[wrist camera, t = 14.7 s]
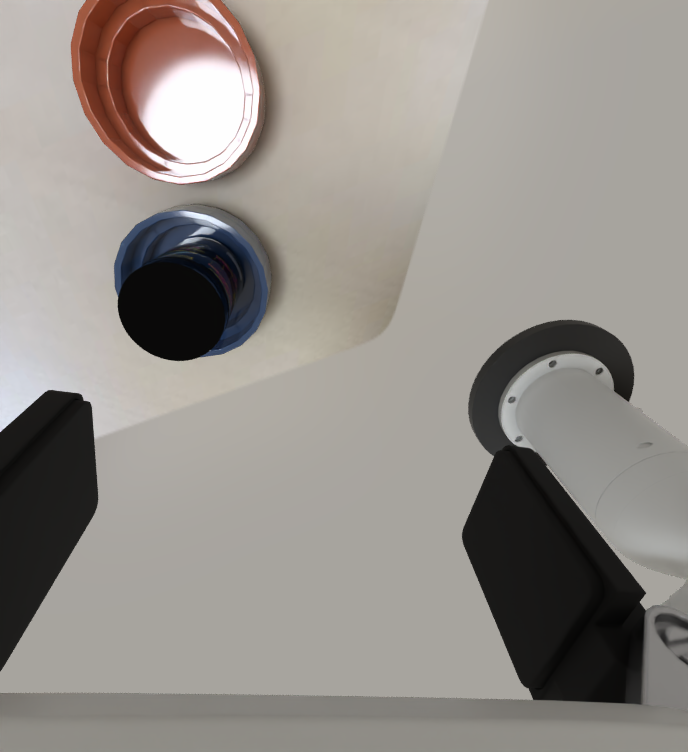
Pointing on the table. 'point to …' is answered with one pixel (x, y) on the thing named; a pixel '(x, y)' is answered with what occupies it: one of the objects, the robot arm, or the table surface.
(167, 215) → the slate-blue bowl
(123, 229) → the table surface
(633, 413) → the robot arm
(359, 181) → the table surface
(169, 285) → the supplement container
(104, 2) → the terracotta bowl
